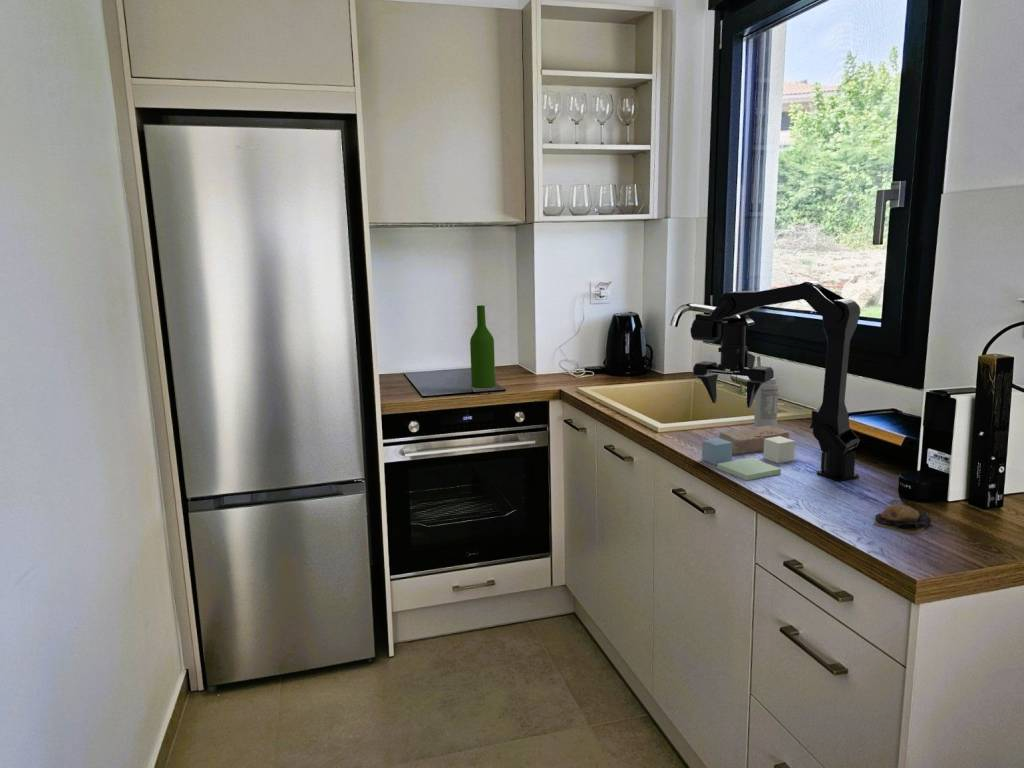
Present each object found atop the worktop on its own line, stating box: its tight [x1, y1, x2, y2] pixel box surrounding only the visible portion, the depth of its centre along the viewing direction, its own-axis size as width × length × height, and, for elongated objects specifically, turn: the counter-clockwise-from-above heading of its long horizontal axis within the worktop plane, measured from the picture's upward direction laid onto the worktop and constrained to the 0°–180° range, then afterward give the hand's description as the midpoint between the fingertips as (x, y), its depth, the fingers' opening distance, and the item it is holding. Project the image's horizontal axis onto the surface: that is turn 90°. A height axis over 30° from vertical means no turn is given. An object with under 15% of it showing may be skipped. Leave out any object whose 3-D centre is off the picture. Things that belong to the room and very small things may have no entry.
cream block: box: [763, 436, 796, 464], centre depth 173 cm, size 5×5×5 cm
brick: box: [718, 426, 790, 455], centre depth 184 cm, size 17×8×5 cm, turn 108°
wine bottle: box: [469, 304, 496, 388], centre depth 262 cm, size 9×9×32 cm
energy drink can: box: [753, 376, 779, 428], centre depth 199 cm, size 6×6×15 cm
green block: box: [716, 457, 782, 481], centre depth 165 cm, size 10×10×1 cm
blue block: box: [701, 437, 733, 466], centre depth 173 cm, size 5×5×5 cm
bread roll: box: [873, 504, 932, 535], centre depth 133 cm, size 11×8×4 cm
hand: (731, 405), depth 176 cm, fingers open, 9 cm apart
